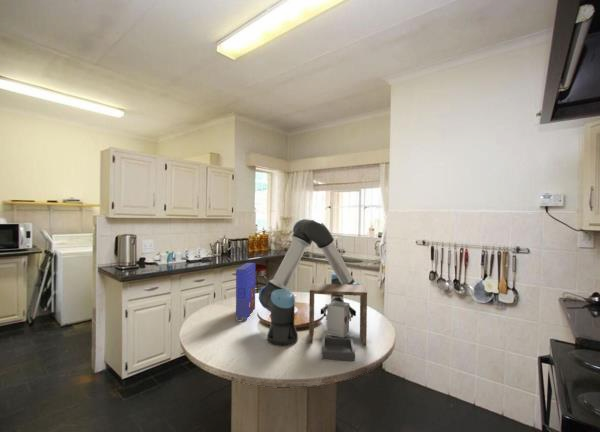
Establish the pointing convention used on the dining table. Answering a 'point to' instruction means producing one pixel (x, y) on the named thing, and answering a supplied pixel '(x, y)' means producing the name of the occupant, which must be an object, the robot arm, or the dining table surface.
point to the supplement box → (338, 319)
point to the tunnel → (340, 290)
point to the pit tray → (338, 349)
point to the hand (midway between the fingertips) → (338, 318)
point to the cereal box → (245, 291)
